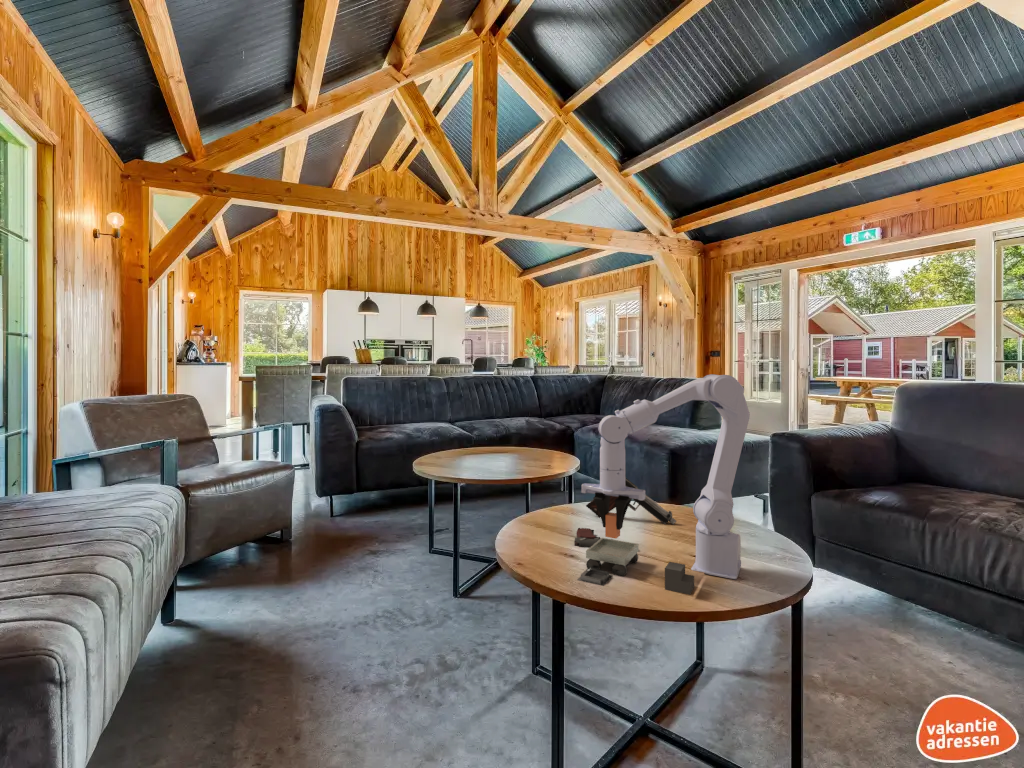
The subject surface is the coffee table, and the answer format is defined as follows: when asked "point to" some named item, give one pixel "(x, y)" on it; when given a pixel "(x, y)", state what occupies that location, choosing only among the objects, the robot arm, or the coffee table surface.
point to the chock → (678, 579)
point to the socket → (595, 576)
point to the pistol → (585, 537)
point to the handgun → (646, 504)
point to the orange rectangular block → (611, 526)
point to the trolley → (612, 555)
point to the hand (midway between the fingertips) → (612, 527)
